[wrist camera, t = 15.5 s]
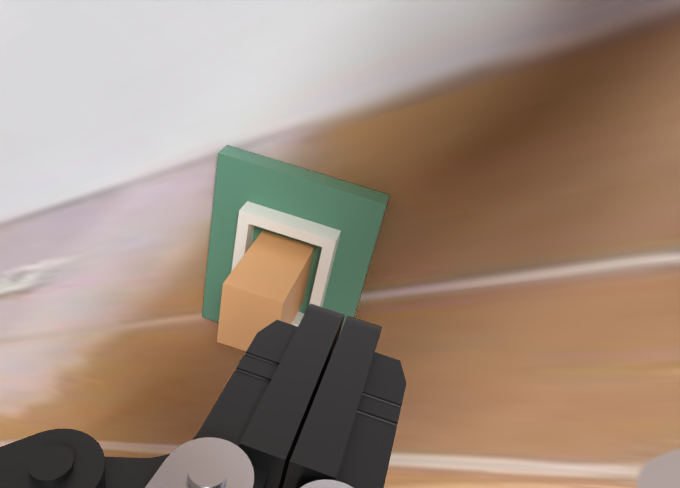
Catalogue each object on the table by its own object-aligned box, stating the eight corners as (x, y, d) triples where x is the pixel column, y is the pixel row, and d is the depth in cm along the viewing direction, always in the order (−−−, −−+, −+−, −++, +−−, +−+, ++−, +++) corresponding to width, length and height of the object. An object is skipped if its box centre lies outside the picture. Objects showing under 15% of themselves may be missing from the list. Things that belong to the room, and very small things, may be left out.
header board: (390, 194, 40) (382, 214, 37) (344, 351, 48) (335, 376, 45) (227, 145, 41) (208, 160, 38) (209, 306, 49) (193, 327, 46)
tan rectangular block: (315, 246, 41) (283, 302, 36) (302, 307, 45) (271, 368, 39) (262, 230, 42) (222, 283, 36) (253, 292, 45) (215, 350, 39)
